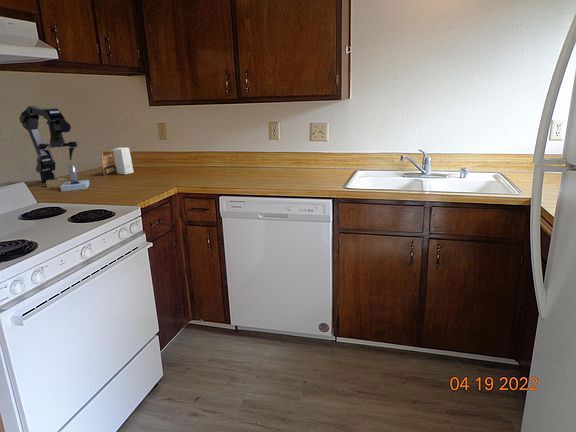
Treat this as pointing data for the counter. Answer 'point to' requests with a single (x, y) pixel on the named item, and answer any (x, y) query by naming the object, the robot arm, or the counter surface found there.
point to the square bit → (55, 182)
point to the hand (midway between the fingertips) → (61, 161)
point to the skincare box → (123, 160)
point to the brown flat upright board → (108, 165)
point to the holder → (75, 185)
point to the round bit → (73, 174)
